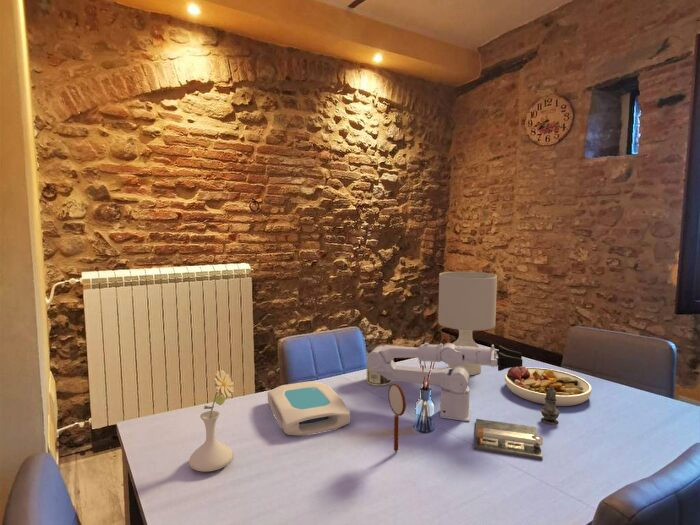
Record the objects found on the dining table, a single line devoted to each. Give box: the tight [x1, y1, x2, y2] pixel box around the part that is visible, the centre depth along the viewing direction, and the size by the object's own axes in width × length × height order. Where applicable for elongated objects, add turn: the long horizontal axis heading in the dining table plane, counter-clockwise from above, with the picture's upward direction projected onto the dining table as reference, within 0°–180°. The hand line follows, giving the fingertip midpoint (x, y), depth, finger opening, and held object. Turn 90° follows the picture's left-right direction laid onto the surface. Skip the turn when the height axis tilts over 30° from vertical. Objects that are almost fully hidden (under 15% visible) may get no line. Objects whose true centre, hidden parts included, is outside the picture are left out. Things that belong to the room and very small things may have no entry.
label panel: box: [473, 418, 544, 461], centre depth 129 cm, size 18×18×2 cm
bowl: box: [504, 365, 592, 407], centre depth 165 cm, size 30×30×8 cm
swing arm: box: [477, 426, 544, 446], centre depth 125 cm, size 18×4×2 cm, turn 72°
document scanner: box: [267, 380, 351, 437], centre depth 145 cm, size 21×28×6 cm
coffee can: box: [365, 344, 392, 387], centre depth 175 cm, size 10×10×14 cm
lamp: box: [437, 271, 498, 376], centre depth 188 cm, size 24×24×42 cm
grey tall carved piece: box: [539, 386, 561, 426], centre depth 140 cm, size 6×6×12 cm
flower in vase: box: [188, 369, 234, 473], centre depth 115 cm, size 13×11×25 cm
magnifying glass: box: [387, 383, 407, 454], centre depth 120 cm, size 9×2×20 cm, turn 23°
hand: (522, 359), depth 136 cm, fingers open, 7 cm apart
